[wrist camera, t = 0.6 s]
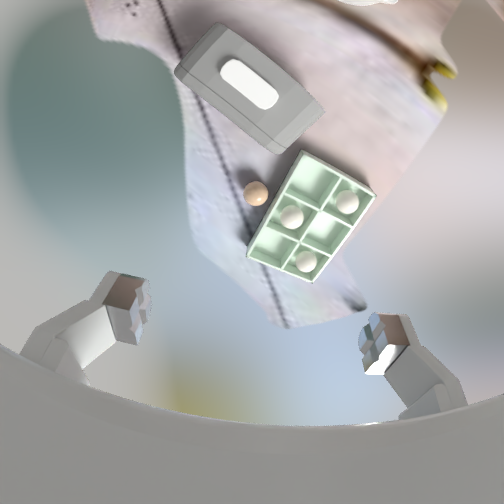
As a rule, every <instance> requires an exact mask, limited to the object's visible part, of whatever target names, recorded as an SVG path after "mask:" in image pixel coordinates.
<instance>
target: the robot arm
mask: <svg viewBox="0 0 504 504" xmlns="http://www.w3.org/2000/svg"><path fill="white" fill-rule="evenodd" d="M338 1H340V2H343V3H346V4H350V5H356V6H367V5H373V4H376V3H385V4H395V3H396V2H398V0H338ZM149 288H150V286H149V281H148V280H147V279H144V278H140V277H135V276H131V275H126V274H121V273H117V272H113V271H109V272H107V273H106V275H105V276H104V278H103V279H102V281H101V282H100V284H99V285H98V287H97V288H96V290H95V291H94V293H93V295H92V296H91V298H90V299H89V301H87V300H84V301H82V302H80V303H79V304H77V305H75V306H73V307H71V308H70V309H68V310H66V311H64V312H62V313H60V314H59V315H57V316H55V317H53V318H51V319H50V320H48V321H46V322H44V323H42V324H41V325H39V326H37V327H36V328H35V329H34V330H33V332H32V334H31V335H30V337H29V339H28V340H27V342H26V344H25V345H24V347H23V349H22V351H21V352H20V354H17V353H15V352H13V351H11V350H10V349H8V348H7V347H5V346H3V345H1V344H0V504H504V394H501V395H498V396H496V397H493V398H490V399H487V400H484V401H481V402H478V403H474V404H471V405H468V404H467V401H466V398H465V395H464V392H463V389H462V386H461V384H460V381H459V380H458V379H457V378H456V377H455V376H454V375H453V374H452V373H451V372H450V371H449V370H448V369H447V368H446V367H445V366H444V365H443V364H442V363H441V362H440V361H439V360H438V359H437V358H436V357H435V356H434V355H433V354H432V353H431V352H430V351H429V350H428V349H427V348H426V347H424V346H421V344H420V342H419V340H418V337H417V335H416V332H415V330H414V328H413V326H412V323H411V321H410V318H409V317H408V316H407V315H406V314H390V313H378V312H374V313H373V314H371V316H370V317H369V319H368V320H369V324H367V325H366V326H364V327H363V329H362V330H361V332H360V335H359V349H360V351H361V352H362V353H363V354H364V357H363V359H362V362H363V365H364V370H365V374H384V377H385V378H386V379H387V381H388V382H389V383H390V385H391V386H392V387H393V389H394V390H395V392H396V393H397V394H398V396H399V397H400V398H401V399H402V401H403V402H404V404H405V405H406V406H407V409H406V410H405V411H404V412H402V413H401V414H400V415H399V420H394V421H387V422H378V423H369V424H355V425H340V426H339V425H338V426H288V425H269V424H268V425H267V424H256V423H245V422H236V421H229V420H220V419H214V418H208V417H202V416H196V415H191V414H185V413H181V412H176V411H171V410H167V409H163V408H159V407H154V406H151V405H147V404H143V403H139V402H136V401H132V400H129V399H125V398H122V397H119V396H116V395H113V394H110V393H107V392H104V391H101V390H98V389H95V388H93V387H90V386H89V384H90V382H89V379H88V378H87V376H86V375H85V373H84V372H83V370H82V369H83V368H84V367H85V366H87V365H88V364H89V363H90V362H92V361H93V360H94V359H95V358H97V357H98V356H99V355H100V354H101V353H103V352H104V351H105V350H107V349H108V348H109V347H110V346H111V345H113V344H114V343H115V342H116V340H117V341H121V342H125V343H129V344H133V345H138V343H139V341H140V338H141V336H142V333H143V327H142V325H143V324H145V323H146V322H147V321H148V318H149V316H150V311H151V297H150V295H149V294H148V291H149Z"/></svg>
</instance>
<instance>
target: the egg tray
mask: <svg viewBox="0 0 504 504" xmlns="http://www.w3.org/2000/svg"><path fill="white" fill-rule="evenodd" d="M343 190H351V191H353V192H355V193H356V195H357V196H358V199H359V206H358V208H357V210H356V211H355V212H353V213H350V214H345V213H342V212H340V211H339V210H338V208H337V207H336V203H335V200H336V196H337V195H338V193H339V192H341V191H343ZM376 196H377V195H376V194H375V193H374V192H373V190H372V189H371V188H369V187H368V186H366V185H364V184H363V183H361V182H360V181H358V180H356V179H355V178H353V177H351V176H349V175H348V174H346V173H344V172H343V171H341V170H339V169H337V168H336V167H334V166H332V165H330V164H328V163H327V162H325V161H323V160H321V159H319V158H317V157H315V156H314V155H312V154H310V153H308V152H306V151H304V150H302V149H301V151H300V152H299V154H298V156H297V158H296V160H295V161H294V163H293V165H292V167H291V168H290V170H289V172H288V174H287V176H286V177H285V179H284V181H283V183H282V185H281V186H280V188H279V190H278V192H277V194H276V195H275V197H274V199H273V201H272V203H271V204H270V206H269V208H268V210H267V212H266V214H265V215H264V217H263V219H262V221H261V223H260V224H259V226H258V228H257V230H256V232H255V233H254V235H253V237H252V239H251V241H250V243H249V244H248V246H247V251H246V257H247V258H250V259H252V260H255V261H257V262H260V263H262V264H265V265H267V266H270V267H272V268H275V269H277V270H280V271H282V272H285V273H287V274H290V275H292V276H295V277H297V278H300V279H302V280H305V281H307V282H310V283H312V284H313V282H314V281H315V280H316V278H317V277H318V276H319V275H320V273H321V272H322V271H323V269H324V268H325V267H326V266H327V264H328V263H329V262H330V260H331V259H332V258H333V256H334V255H335V254H336V252H337V251H338V250H339V248H340V247H341V246H342V244H343V243H344V242H345V240H346V239H347V237H348V236H349V235H350V233H351V232H352V231H353V229H354V228H355V226H356V225H357V224H358V222H359V221H360V219H361V218H362V216H363V215H364V214H365V212H366V211H367V209H368V208H369V206H370V205H371V204H372V202H373V201H374V199H375V198H376ZM288 205H295V206H298V207H299V208H300V209H301V210H302V212H303V214H304V220H303V223H302V224H301V225H300V226H299V227H298V228H296V229H288V228H286V227H284V226H283V225H282V223H281V221H280V213H281V211H282V209H283V208H284V207H286V206H288ZM302 251H311V252H312V253H313V254H314V255H315V256H316V259H317V264H316V267H315V268H314V269H313V270H312V271H310V272H302V271H300V270H299V269H298V268H297V266H296V264H295V259H296V256H297V255H298V254H299V253H300V252H302Z"/></svg>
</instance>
